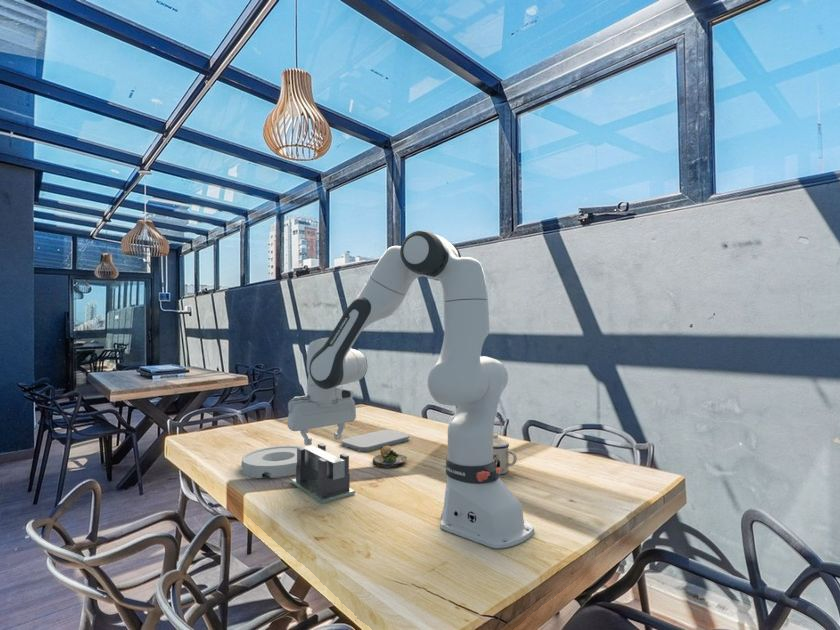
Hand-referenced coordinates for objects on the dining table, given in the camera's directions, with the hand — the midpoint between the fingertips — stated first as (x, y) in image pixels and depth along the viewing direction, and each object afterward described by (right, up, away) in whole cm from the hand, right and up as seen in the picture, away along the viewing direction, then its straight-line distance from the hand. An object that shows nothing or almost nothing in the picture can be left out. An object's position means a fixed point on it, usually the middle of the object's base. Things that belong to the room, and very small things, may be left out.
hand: (323, 441), depth 123 cm
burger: (+18, -15, +24) cm, 33 cm away
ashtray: (-20, -15, +20) cm, 32 cm away
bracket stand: (0, -13, 0) cm, 13 cm away
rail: (0, -8, 0) cm, 8 cm away
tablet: (+10, -16, +50) cm, 53 cm away
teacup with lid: (+54, -14, +15) cm, 57 cm away
